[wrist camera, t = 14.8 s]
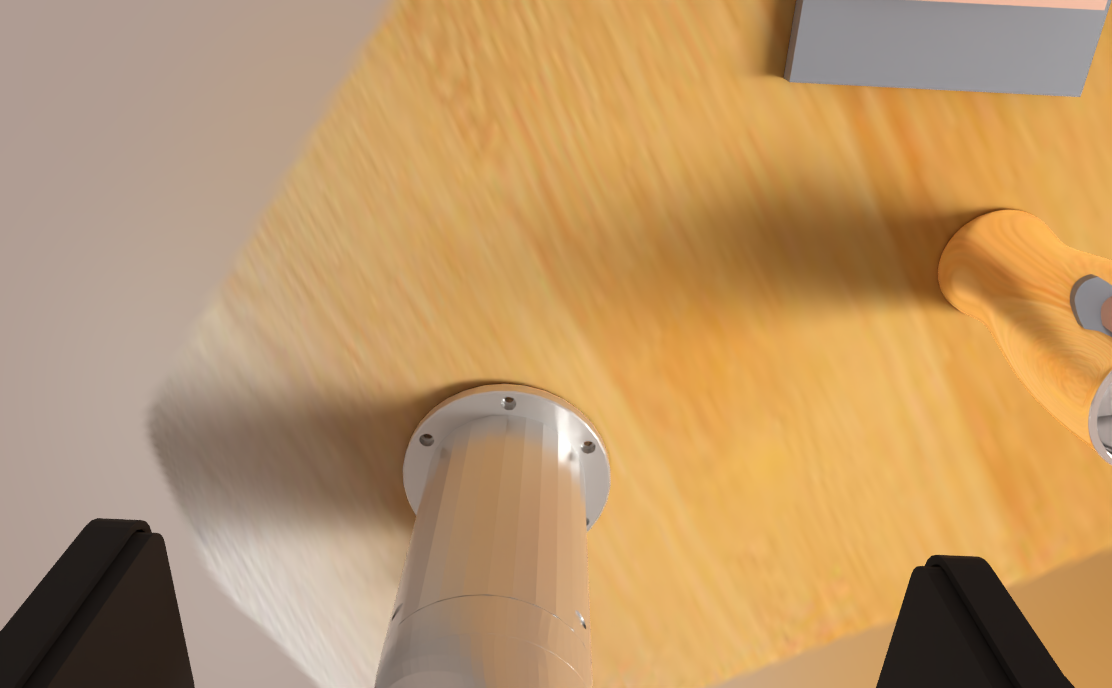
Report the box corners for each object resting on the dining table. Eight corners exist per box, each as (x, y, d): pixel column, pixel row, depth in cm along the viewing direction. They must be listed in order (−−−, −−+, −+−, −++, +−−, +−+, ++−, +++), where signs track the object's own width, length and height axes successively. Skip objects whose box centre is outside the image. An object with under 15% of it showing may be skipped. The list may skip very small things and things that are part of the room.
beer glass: (904, 256, 44) (1051, 397, 31) (1022, 173, 42) (1235, 284, 29) (968, 344, 47) (1130, 509, 33) (1083, 268, 45) (1307, 413, 31)
